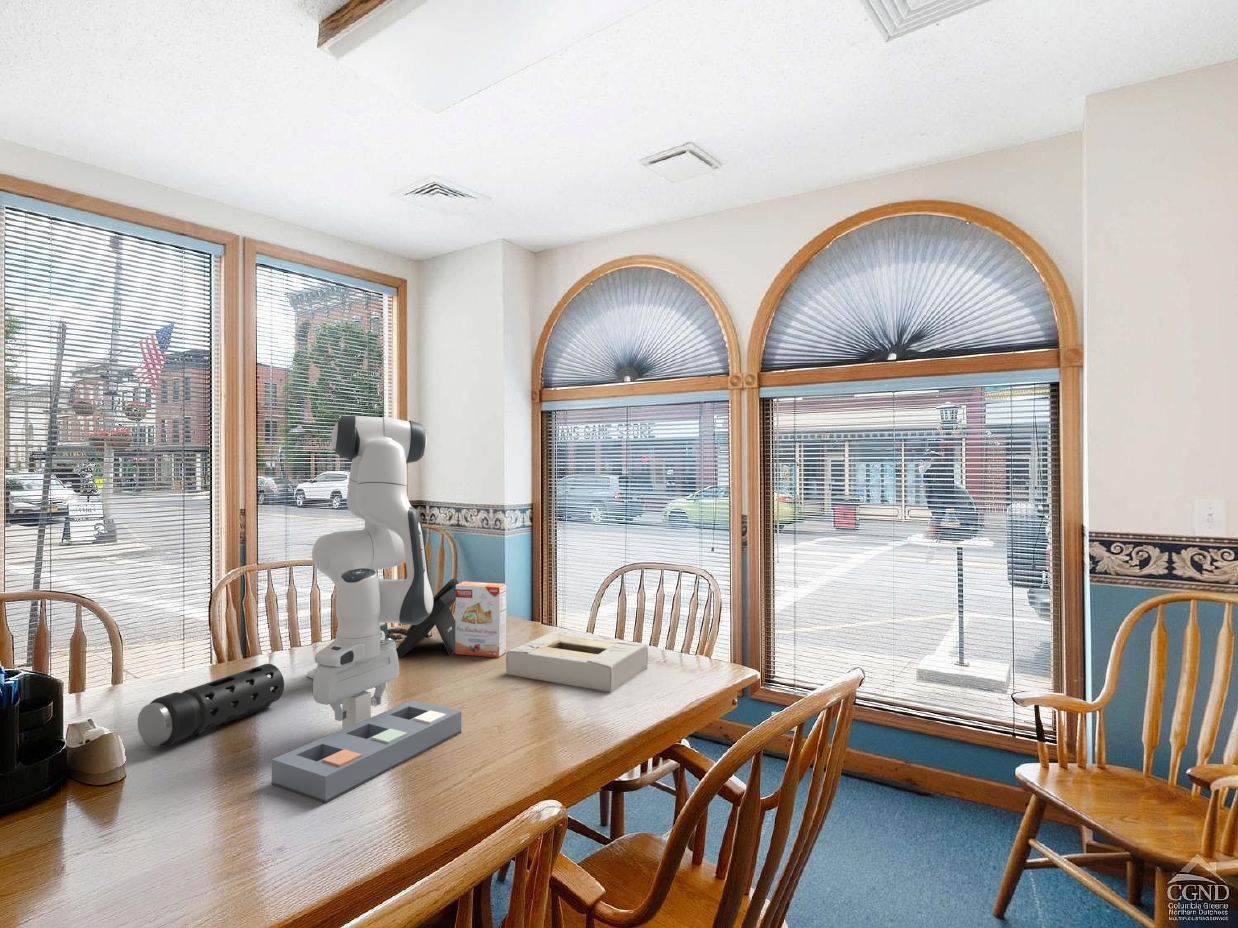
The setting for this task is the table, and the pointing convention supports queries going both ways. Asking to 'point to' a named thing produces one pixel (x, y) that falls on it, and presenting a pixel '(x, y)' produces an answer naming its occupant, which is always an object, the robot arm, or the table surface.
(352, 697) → the plug
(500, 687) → the table surface
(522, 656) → the box
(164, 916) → the table surface
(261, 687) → the muzzle brake
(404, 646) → the office phone
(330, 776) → the socket block
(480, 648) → the cracker box
